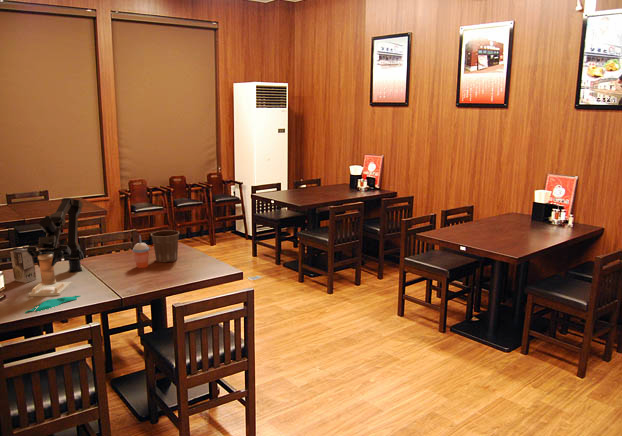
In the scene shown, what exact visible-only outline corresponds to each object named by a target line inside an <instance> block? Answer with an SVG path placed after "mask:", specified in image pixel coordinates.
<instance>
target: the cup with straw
mask: <svg viewBox="0 0 622 436" xmlns="http://www.w3.org/2000/svg"><path fill="white" fill-rule="evenodd" d="M138 237H139V242H138V243H135V245H134V246H133V248H132V252H133V256H134V262H135V265H136V266H135V267H136V268H138V269H144V268H145V269H146V268H148V266H149V259H150V257H149V256H150V255H149V254H150V253H149V252H150V247H149V245H148V244H146V242H142V235H139V236H138Z"/></svg>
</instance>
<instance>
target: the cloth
mask: <svg viewBox="0 0 622 436" xmlns="http://www.w3.org/2000/svg"><path fill="white" fill-rule="evenodd" d="M78 298H81V295H73V296H62V297H58V298H50V299H47V300H44V301H42V302H41V303H39V304H38V305H35V306H33V308H31V309H28V310H26V311H25V312H24V314H27V313H29V312H37V311H39V312H42V311H45V309H46V310H50V309H53V308H52V307H54V308H56V307H55V306H57V307H58V305H59V306H60V305H61V304H64V303H68V301H69V302H71V301H75V300H76V301H77V300H78ZM37 306H39V307H38V308H37V309H36V308H35V307H37ZM49 308H50V309H49ZM35 309H36V311H34V310H35ZM41 310H42V311H41Z"/></svg>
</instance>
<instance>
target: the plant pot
mask: <svg viewBox="0 0 622 436" xmlns="http://www.w3.org/2000/svg"><path fill="white" fill-rule="evenodd" d="M179 236H180V231H178V230H174V229H173V230H170V229H168V230H158V231H157V230H156V231H154V232H152V233H150V237H151V240H152V243H153V247H154V248H153V250H154V254H155V261H156V262H158V263H168V262H170V263H171V262H176V261H178V253H179V252H178V249H179V238H180V237H179Z"/></svg>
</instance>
